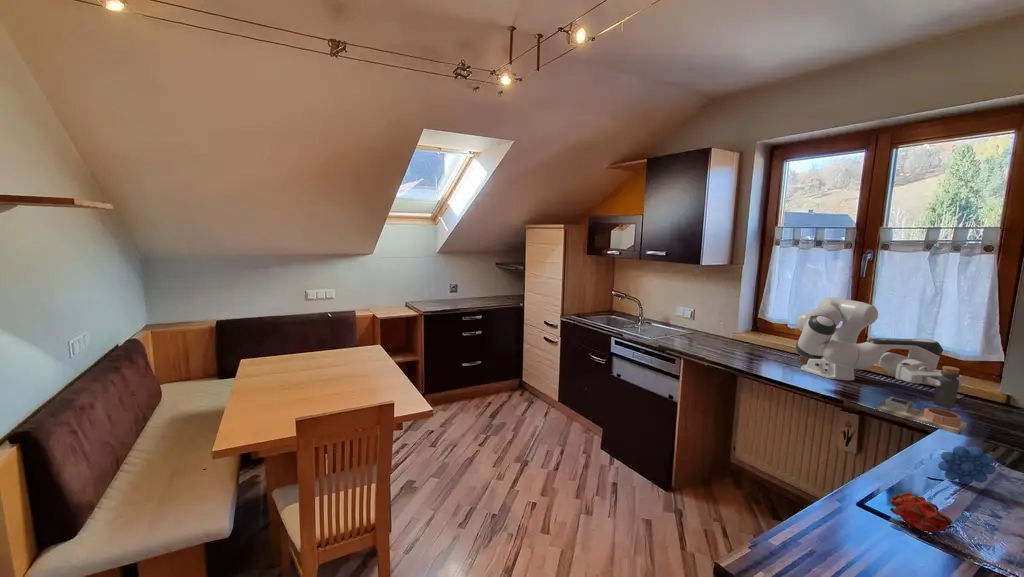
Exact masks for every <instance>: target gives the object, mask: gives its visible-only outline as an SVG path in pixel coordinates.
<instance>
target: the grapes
mask: <svg viewBox="0 0 1024 577" xmlns="http://www.w3.org/2000/svg"><path fill="white" fill-rule="evenodd" d="M940 458H941V459H942V461H939V462H938V464H937V467H938V469H939V470H940V471H943V472H944V477H945V478H946V479H947V480H949V481H956V480H957V481H958V482H959V483H960V484H961V483H963V484H962V485H964V484H967V485H966V486H968V485H972V483H973V482H976V483H980V484H982V483H985V482H987V481H988V479H989V478H988V476H989V475H990V476H991V475H994V474H995V473H996V472H997V467H996V466H995V465H994V464H993V463H994V462H995V458H994V456H993V455H992V454H990V453H984V452H983V450H982V449H981V448H980V447H978V446H971V447H968V448H966V446H962V445H956V446H954V447H953V449H952V452H951V451H949V450H948V451H944V452H942V454H941V455H940Z"/></svg>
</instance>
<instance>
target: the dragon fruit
mask: <svg viewBox="0 0 1024 577" xmlns="http://www.w3.org/2000/svg"><path fill="white" fill-rule="evenodd" d="M889 503H890V504H891V506H893V507H891V508H890V509H889V510H890V511H891V513H892V514H894V515H896V516H900V518H901V519H902V521H903V520H904V521H905V522H904V523H906V526H907V528H909V529H912V528H913V527H914V528H916V529H917V530H920V531H921V532H923V531H928V532H934V533H937V532H946V530H949V529H954V528H955V525H953V524H955V523H954V522H953V521H952V519H951V518H950V517H949V516H948V515H946V514H944V513H942V512H940V511H939V509H940V508H939V507H938V505H937V504H934V503H932V502H931V501H926V498H925V497H923V496H917V495H916V494H913V493H911V492H909V491H906V492H905V493H902V492H899V493H898V494H893V496H892V498H890V499H889Z"/></svg>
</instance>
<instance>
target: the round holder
mask: <svg viewBox="0 0 1024 577" xmlns="http://www.w3.org/2000/svg"><path fill="white" fill-rule="evenodd" d="M923 411H924V415H923V417H924V418H925V419H927V420H930V421H932V422H935V423H938V424H942V425H947V426H959V425H960V423H961V421H962V416H961V415H960V414H958V413H956V412H953V411H950V410H946V409H944V408H943V409H942V408H938V407H926V408H924V410H923Z"/></svg>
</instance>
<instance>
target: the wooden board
mask: <svg viewBox="0 0 1024 577" xmlns="http://www.w3.org/2000/svg"><path fill="white" fill-rule="evenodd" d="M885 401H886V399H885V400H883V401H881V402H879V403H878V404H875V405H874V408H875V409H878V410H881V411H880V412H882V411H884V412H883V413H885V412H887V413H886V414H888V413H889V415H892V416H895V417H899V418H902V419H905V418H906V419H905V420H909V419H910V420H909V421H912V420H915V421H919V422H922V423H925V424H929V425H932V426H935V427H934V428H936V427H937V428H936V429H939V430H943V431H947V432H949V433H953V434H956V435H959V434H960V433H961V432H962V431H963V430H965V428H967V426H968V425H967V424H968V423H967V422H965V421H962V420H961V423H960V425H959V426H947V425H942V424H938V423H935V422H932V421H930V420H927V419H925V418H924V417H923V415H924V410H923V409H917V408H914V407H912V410H911V411H909V412H908V413H904V412H901V411H897V410H894V409H890V408H887V407H885ZM875 409H874V410H875ZM878 410H877V411H878ZM915 421H914V422H915ZM919 422H918V423H919ZM922 423H921V424H922ZM925 424H924V425H925ZM929 425H928V426H929ZM932 426H931V427H932Z"/></svg>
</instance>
